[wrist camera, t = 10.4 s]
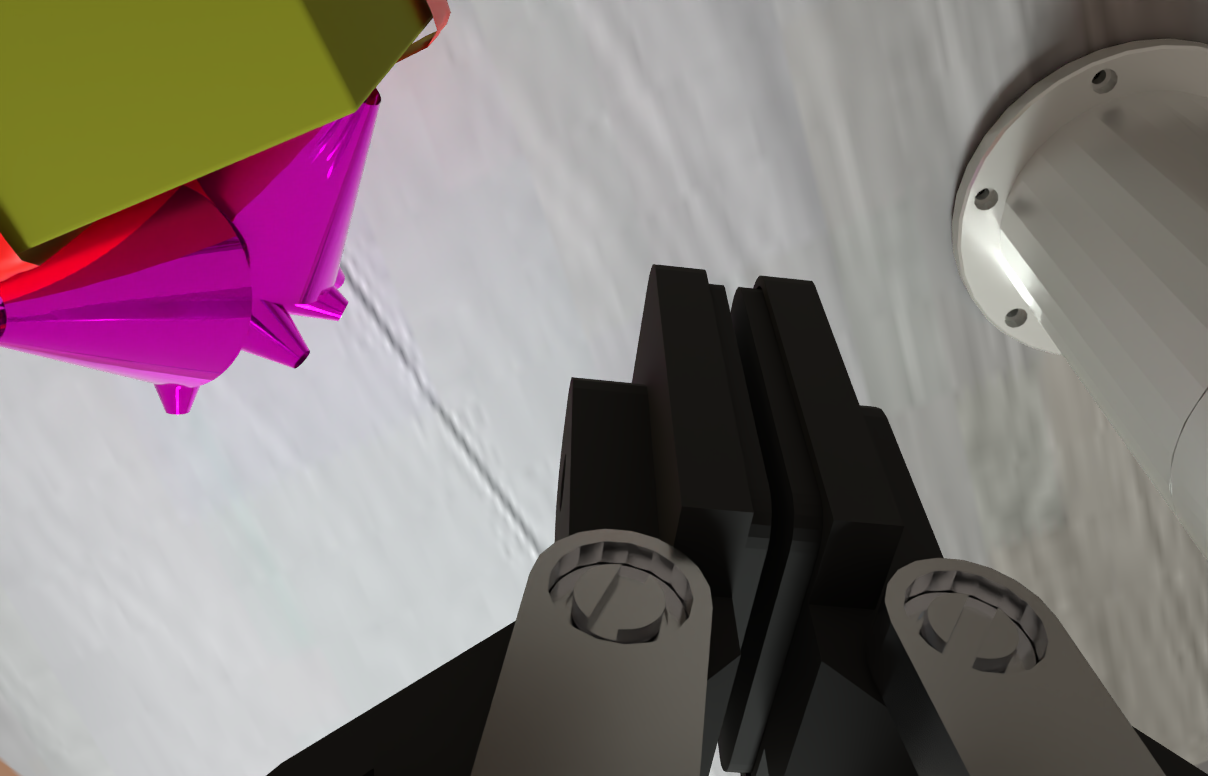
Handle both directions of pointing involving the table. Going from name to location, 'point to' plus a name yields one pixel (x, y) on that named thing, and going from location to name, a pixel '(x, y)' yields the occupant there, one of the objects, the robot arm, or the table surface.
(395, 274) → the table surface
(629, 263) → the table surface
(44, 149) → the gift box
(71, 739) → the table surface
